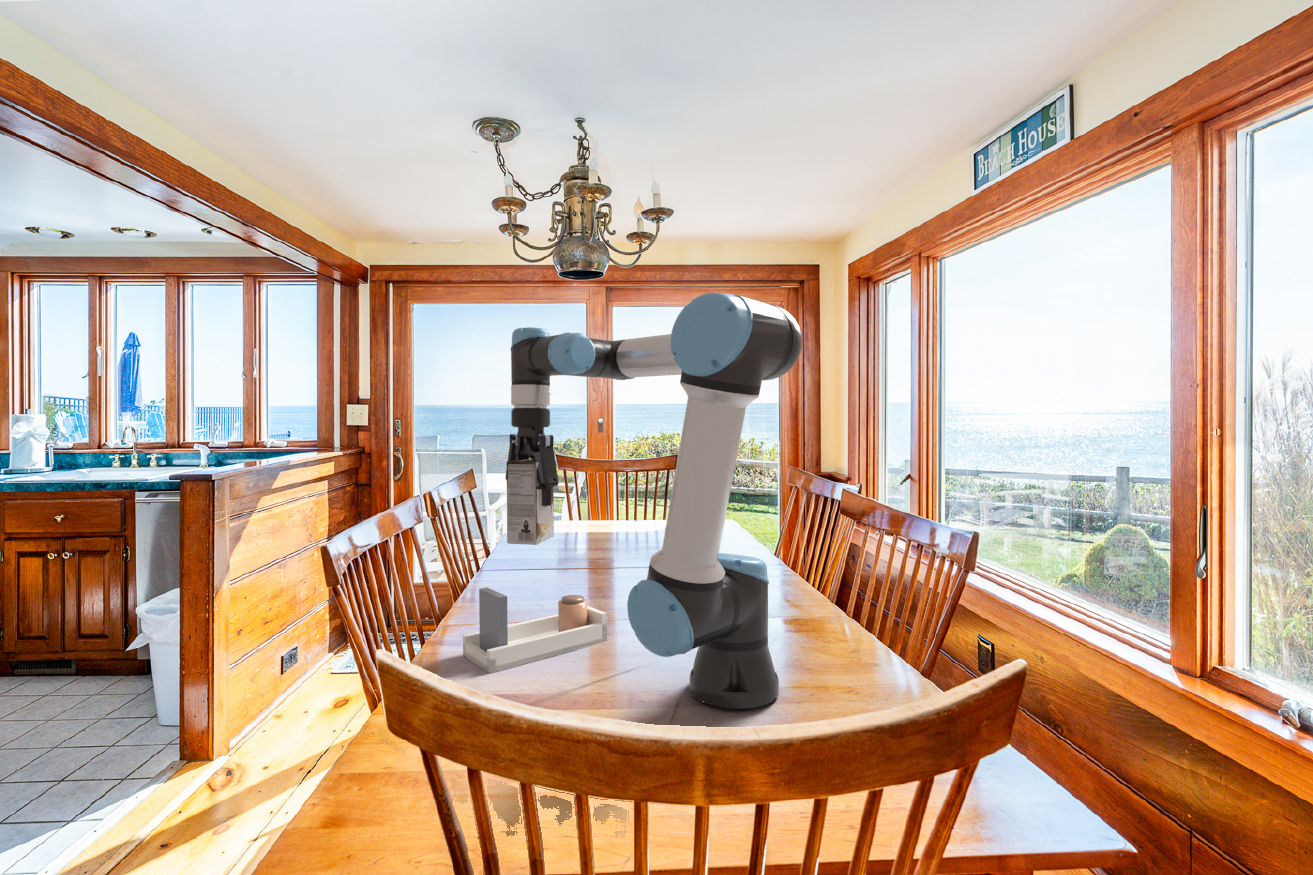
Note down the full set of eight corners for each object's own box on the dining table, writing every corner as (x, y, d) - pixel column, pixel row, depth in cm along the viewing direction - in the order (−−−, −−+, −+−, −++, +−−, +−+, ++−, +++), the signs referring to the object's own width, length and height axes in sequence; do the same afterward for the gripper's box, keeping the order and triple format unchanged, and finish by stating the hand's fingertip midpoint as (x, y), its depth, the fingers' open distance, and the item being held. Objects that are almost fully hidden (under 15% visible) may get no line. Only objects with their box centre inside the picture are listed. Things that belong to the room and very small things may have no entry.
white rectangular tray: (607, 641, 131) (606, 613, 130) (489, 673, 114) (489, 640, 114) (575, 628, 140) (575, 601, 140) (463, 655, 123) (462, 625, 123)
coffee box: (525, 535, 130) (525, 458, 130) (554, 537, 129) (554, 458, 129) (505, 544, 121) (505, 460, 121) (536, 545, 120) (536, 461, 120)
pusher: (507, 658, 118) (507, 596, 118) (499, 660, 117) (499, 597, 117) (487, 646, 125) (486, 587, 124) (479, 648, 124) (479, 588, 123)
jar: (592, 635, 132) (592, 598, 132) (568, 641, 128) (568, 603, 128) (577, 628, 136) (576, 592, 136) (553, 634, 133) (552, 597, 133)
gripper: (577, 406, 118) (577, 524, 119) (521, 408, 136) (521, 511, 136) (542, 405, 113) (541, 528, 114) (488, 407, 131) (488, 514, 131)
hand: (530, 519), depth 125 cm, fingers closed on coffee box, 10 cm apart
